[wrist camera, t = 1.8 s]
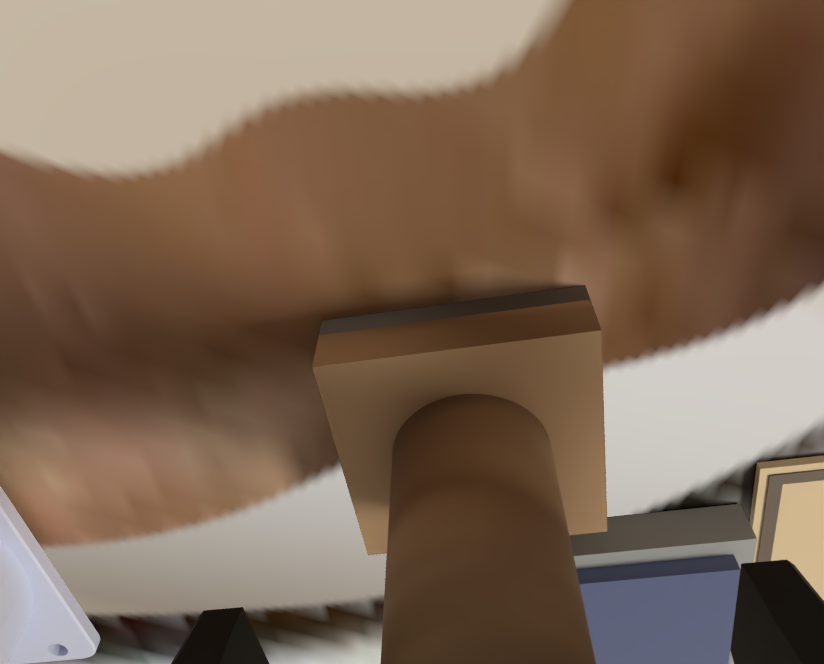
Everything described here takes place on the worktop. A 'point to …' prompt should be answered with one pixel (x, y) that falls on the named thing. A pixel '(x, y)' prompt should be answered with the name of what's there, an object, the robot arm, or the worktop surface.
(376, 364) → the stamp
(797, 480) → the card sheet
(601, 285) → the worktop surface
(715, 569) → the ink pad
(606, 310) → the worktop surface
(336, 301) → the worktop surface
